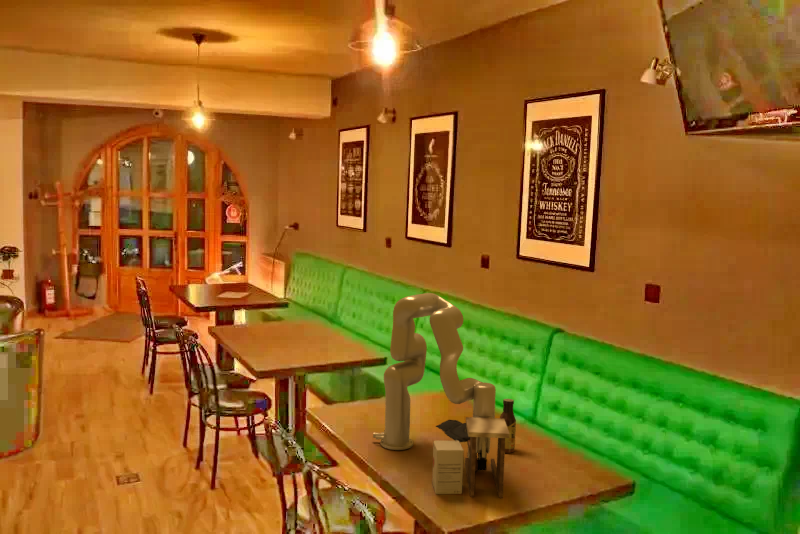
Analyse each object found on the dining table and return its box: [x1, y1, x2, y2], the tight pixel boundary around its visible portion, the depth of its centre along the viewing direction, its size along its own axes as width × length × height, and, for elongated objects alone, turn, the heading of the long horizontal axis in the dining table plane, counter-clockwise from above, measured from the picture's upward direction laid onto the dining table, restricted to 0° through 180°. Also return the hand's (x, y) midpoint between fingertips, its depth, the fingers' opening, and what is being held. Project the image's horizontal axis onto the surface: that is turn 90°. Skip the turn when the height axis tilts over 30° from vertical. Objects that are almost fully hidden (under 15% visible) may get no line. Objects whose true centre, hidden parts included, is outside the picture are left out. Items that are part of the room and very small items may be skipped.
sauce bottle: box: [499, 398, 517, 454], centre depth 262 cm, size 7×6×20 cm
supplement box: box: [431, 440, 465, 495], centre depth 227 cm, size 9×9×15 cm
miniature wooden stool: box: [464, 416, 510, 499], centre depth 234 cm, size 13×27×22 cm, turn 178°
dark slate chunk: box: [435, 419, 470, 443], centre depth 280 cm, size 15×22×5 cm
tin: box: [466, 440, 478, 472], centre depth 247 cm, size 15×3×8 cm, turn 178°
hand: (481, 469), depth 241 cm, fingers closed
